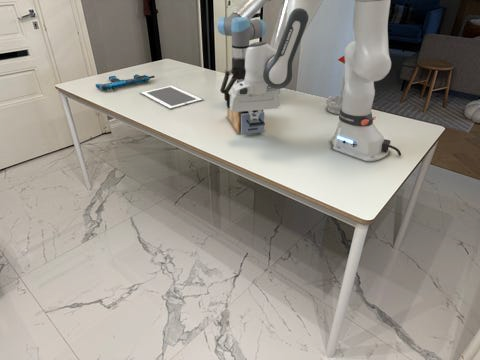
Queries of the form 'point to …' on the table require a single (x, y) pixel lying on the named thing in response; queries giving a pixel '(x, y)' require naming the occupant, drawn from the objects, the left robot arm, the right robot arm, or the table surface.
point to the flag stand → (336, 102)
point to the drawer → (252, 123)
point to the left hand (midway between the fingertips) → (240, 105)
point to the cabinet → (235, 119)
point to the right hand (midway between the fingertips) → (254, 119)
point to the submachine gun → (123, 82)
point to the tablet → (171, 96)
